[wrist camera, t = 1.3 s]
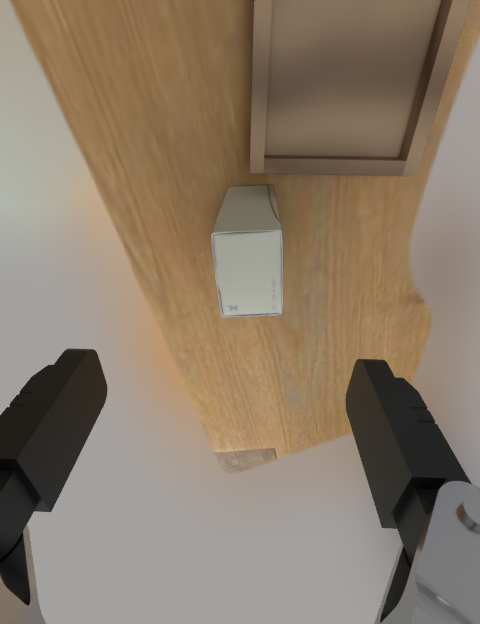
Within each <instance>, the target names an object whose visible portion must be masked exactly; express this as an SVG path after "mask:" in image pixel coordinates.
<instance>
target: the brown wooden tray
mask: <svg viewBox="0 0 480 624" xmlns="http://www.w3.org/2000/svg"><path fill="white" fill-rule="evenodd" d="M470 2H471V0H254V29H253V66H252V104H251V141H250V173H261V174H316V175H370V176H417V172H418V169H419V166H420V163H421V160H422V156H423V153H424V150H425V147H426V143H427V140H428V137H429V134H430V131H431V127H432V124H433V121H434V118H435V114H436V111H437V108H438V105H439V102H440V98H441V95H442V92H443V89H444V85H445V82H446V79H447V76H448V73H449V69H450V66H451V63H452V60H453V56H454V53H455V50H456V47H457V44H458V40H459V37H460V34H461V31H462V27H463V24H464V21H465V18H466V15H467V11H468V8H469V5H470Z"/></svg>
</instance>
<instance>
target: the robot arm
mask: <svg viewBox="0 0 480 624" xmlns="http://www.w3.org/2000/svg"><path fill="white" fill-rule="evenodd" d="M106 397H107V384H106V380H105V377H104V374H103V370H102V367H101V364H100V361H99V358H98V354H97V352H96V351H95V350H93V349H67V350H65V351H64V352H63V353H62V355H61V356H60V357H59V359H58V360H57V361H56V363H55V364H54V365H48V366H46V367H45V368H43V369H42V370H41V371H39V372H38V373H37V374H35V375H34V376H32V377H31V378H30V380H29V381H28V382H27V383H26V385H25V386H24V387H23V388H22V389H21V391H20V394H19V395H17V396H16V397H15V398H14V399H13V401H12V402H11V403H10V407H7V408H6V409H5V411H4V412H3V413H2V414H1V415H0V624H46V623H45V621H44V618H43V616H42V614H41V610H40V607H39V602H38V594H37V587H36V580H35V572H34V565H33V557H32V550H31V542H30V535H29V529H28V526H27V523H28V521H29V519H30V517H31V515H32V514H33V512H34V511H41V512H51V511H52V509H53V507H54V504H55V503H56V501H57V499H58V497H59V495H60V493H61V491H62V489H63V487H64V485H65V483H66V481H67V479H68V477H69V474H70V472H71V471H72V469H73V467H74V464H75V463H76V461H77V458H78V456H79V454H80V452H81V450H82V448H83V446H84V444H85V442H86V440H87V438H88V436H89V434H90V432H91V430H92V428H93V426H94V424H95V422H96V420H97V418H98V416H99V414H100V412H101V410H102V408H103V406H104V404H105V401H106ZM346 411H347V415H348V418H349V421H350V425H351V428H352V431H353V434H354V437H355V441H356V444H357V447H358V450H359V454H360V457H361V460H362V464H363V467H364V470H365V474H366V477H367V480H368V483H369V487H370V490H371V493H372V496H373V500H374V503H375V506H376V510H377V513H378V516H379V519H380V523H381V526H382V528H394V529H398V531H399V534H400V537H401V540H402V543H401V545H400V547H399V550H398V553H397V557H396V560H395V563H394V566H393V569H392V572H391V575H390V578H389V581H388V584H387V587H386V590H385V593H384V596H383V599H382V602H381V605H380V608H379V611H378V614H377V617H376V620H375V623H374V624H480V488H479V487H477V486H475V485H473V484H472V483H471V482H470V480H469V479H468V477H467V476H466V474H465V472H464V471H463V469H462V467H461V465H460V464H459V462H458V460H457V458H456V457H455V455H454V453H453V451H452V450H451V448H450V446H449V444H448V443H447V441H446V439H445V437H444V436H443V434H442V432H441V431H440V429H439V427H438V425H437V424H435V420H434V418H433V417H432V415H431V413H430V412H429V411H428V410H427V406H426V404H425V403H424V401H423V399H422V398H421V396H420V394H419V393H418V391H417V390H416V389H415V388H414V387H413V386H411V385H410V384H409V383H408V382H407V381H406V380H405V379H404V378H395V377H394V375H393V373H392V371H391V369H390V367H389V365H388V364H387V362H386V361H385V360H374V359H358V360H357V361H356V363H355V366H354V369H353V373H352V376H351V379H350V383H349V386H348V390H347V393H346Z"/></svg>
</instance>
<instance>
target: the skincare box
mask: <svg viewBox="0 0 480 624" xmlns="http://www.w3.org/2000/svg"><path fill="white" fill-rule="evenodd" d="M211 244H212V253H213V262H214V271H215V279H216V285H217V292H218V299H219V305H220V311H221V316H222V317H248V316H270V315H280V314H282V303H283V244H282V229H281V224H280V218H279V212H278V206H277V200H276V194H275V189H274V185H254V186H238V187H229V188H228V189H227V192H226V195H225V198H224V201H223V204H222V206H221V209H220V212H219V215H218V217H217V220H216V223H215V226H214V229H213V231H212V234H211Z"/></svg>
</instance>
